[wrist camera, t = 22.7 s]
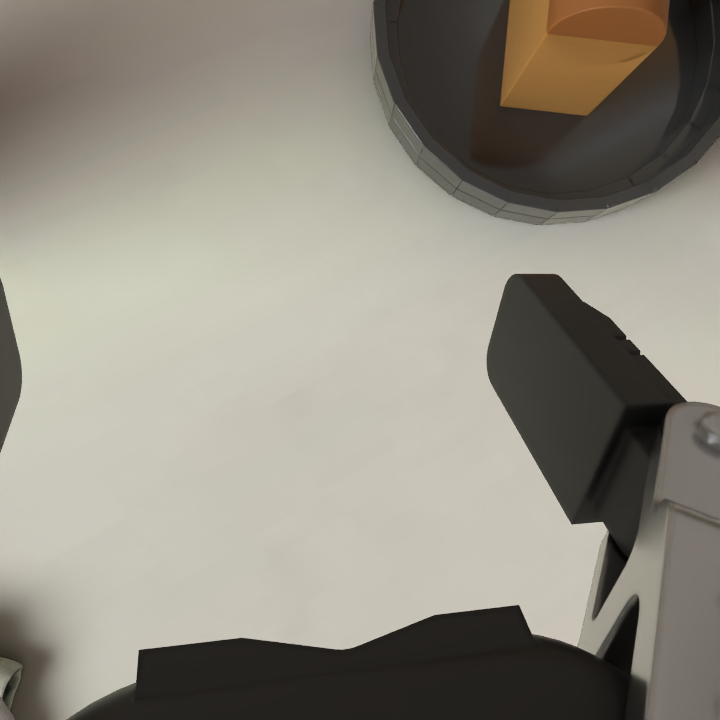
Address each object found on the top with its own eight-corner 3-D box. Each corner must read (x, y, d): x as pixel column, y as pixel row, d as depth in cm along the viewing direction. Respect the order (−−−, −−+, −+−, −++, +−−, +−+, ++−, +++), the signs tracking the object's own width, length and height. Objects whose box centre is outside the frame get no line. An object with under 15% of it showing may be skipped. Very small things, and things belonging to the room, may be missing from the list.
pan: (312, 132, 33) (309, 105, 30) (462, -182, 34) (476, -244, 30) (625, 284, 34) (658, 275, 30) (770, -26, 34) (819, -69, 31)
